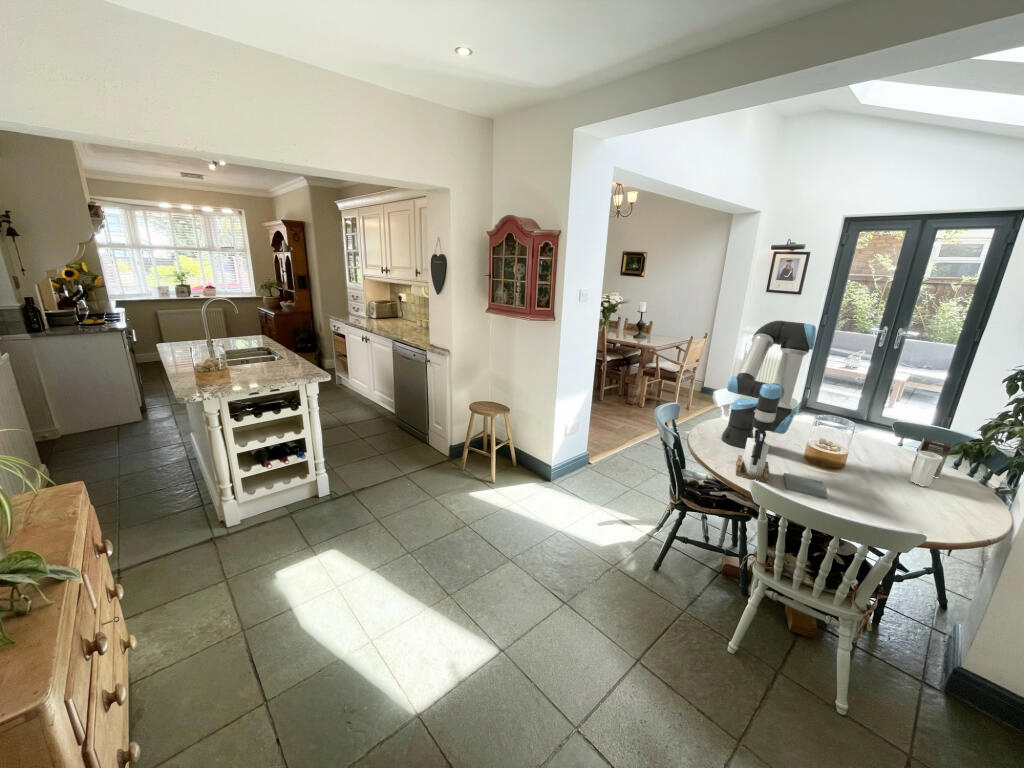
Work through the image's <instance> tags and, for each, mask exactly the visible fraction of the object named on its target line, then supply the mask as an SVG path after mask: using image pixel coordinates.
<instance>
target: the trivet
mask: <svg viewBox="0 0 1024 768" xmlns="http://www.w3.org/2000/svg"><path fill="white" fill-rule="evenodd" d="M782 474H783V481H784V485H785V490H788V491H793V492H797V493H800V494H805V495H809V496H813V497H816V498H817V497H818V498H821V499H824V500H827V498H828V495H827V492H826V490H825V487H824V485H823V481H822V480H817V479H812V478H808V477H803V476H799V475H795V474H792V473H786V472H783V473H782Z"/></svg>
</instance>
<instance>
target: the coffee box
mask: <svg viewBox="0 0 1024 768" xmlns="http://www.w3.org/2000/svg"><path fill="white" fill-rule="evenodd" d="M951 449H952V445H951V443H948V442H945V441H940V440H937V439H934V438H929V437H923V438H922V441H921V443H920V445H919V447H918V450H917V452H918V451H927V452H932V453H935V454H938V455H940V456H942V457H943V460H942V461H941V462H940V464H939V466H938V468H937V470H936V472H935V474H934V476H935V477H939V478H940V475H941V473H942V470H943V468H944V465H945V463H946V460H947V458H948V455H949V453H950V451H951ZM916 459H917V454H916V456H915V458H914V460H913V463H912V465H911V467H912V470H911V472H912V471H913V469H914V466H915V463H916Z"/></svg>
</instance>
